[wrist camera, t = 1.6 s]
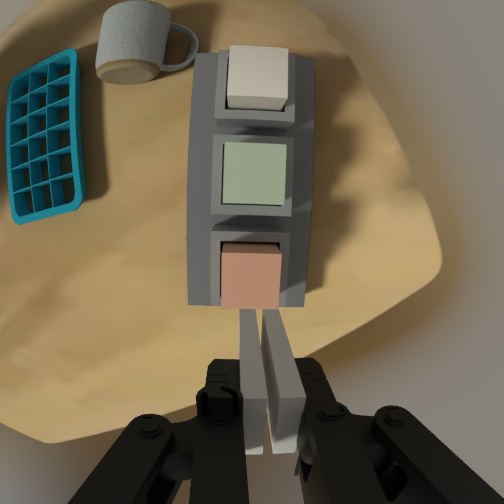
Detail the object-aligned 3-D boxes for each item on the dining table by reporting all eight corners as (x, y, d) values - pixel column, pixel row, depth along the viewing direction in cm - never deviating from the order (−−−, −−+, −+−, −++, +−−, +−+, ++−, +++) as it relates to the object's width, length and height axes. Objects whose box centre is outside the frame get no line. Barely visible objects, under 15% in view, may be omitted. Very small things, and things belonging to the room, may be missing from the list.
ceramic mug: (108, 91, 27) (79, 71, 20) (117, 34, 26) (94, 6, 18) (197, 82, 28) (188, 54, 21) (202, 24, 26) (195, -12, 19)
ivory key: (228, 110, 24) (227, 95, 19) (231, 66, 23) (230, 45, 18) (279, 112, 24) (287, 98, 20) (280, 68, 23) (288, 48, 19)
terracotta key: (223, 288, 27) (221, 308, 23) (224, 241, 26) (221, 252, 22) (271, 289, 27) (278, 309, 23) (274, 242, 26) (281, 254, 22)
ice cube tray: (26, 223, 30) (13, 226, 28) (21, 84, 26) (9, 79, 23) (95, 206, 31) (83, 208, 28) (87, 53, 26) (77, 44, 23)
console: (192, 294, 33) (181, 321, 26) (199, 63, 27) (189, 35, 21) (298, 296, 34) (312, 323, 27) (307, 69, 28) (324, 43, 21)
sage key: (225, 200, 25) (222, 203, 21) (227, 149, 24) (224, 142, 20) (276, 201, 26) (284, 204, 21) (278, 151, 25) (286, 144, 20)
